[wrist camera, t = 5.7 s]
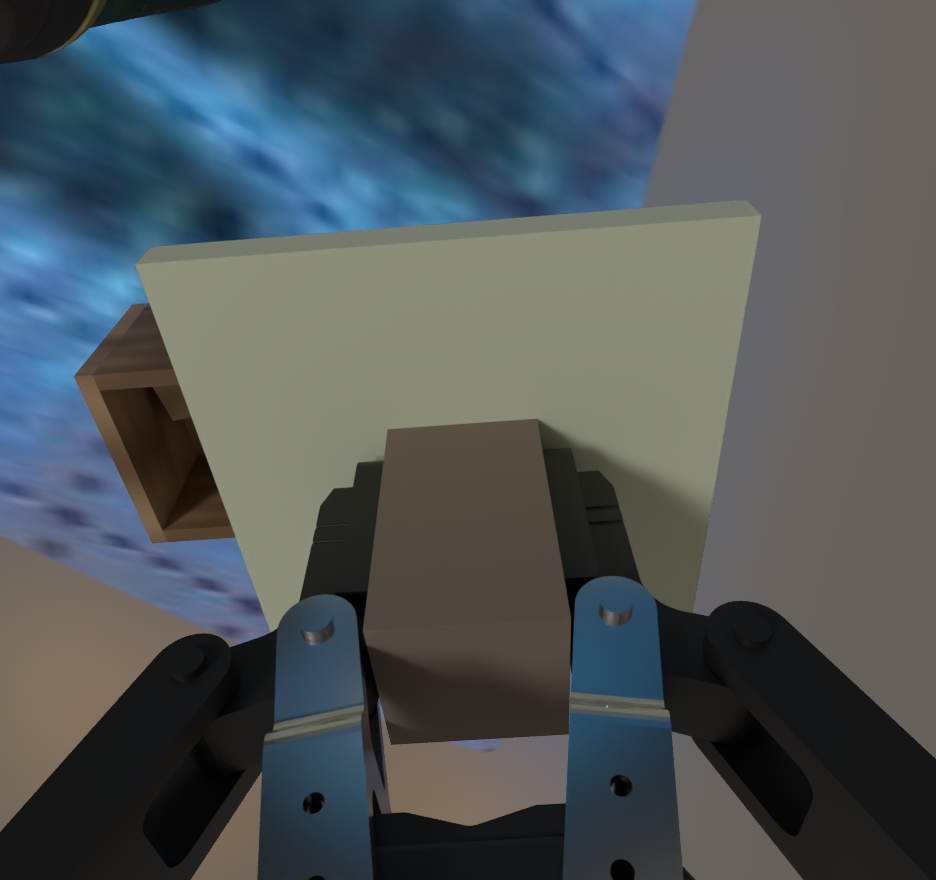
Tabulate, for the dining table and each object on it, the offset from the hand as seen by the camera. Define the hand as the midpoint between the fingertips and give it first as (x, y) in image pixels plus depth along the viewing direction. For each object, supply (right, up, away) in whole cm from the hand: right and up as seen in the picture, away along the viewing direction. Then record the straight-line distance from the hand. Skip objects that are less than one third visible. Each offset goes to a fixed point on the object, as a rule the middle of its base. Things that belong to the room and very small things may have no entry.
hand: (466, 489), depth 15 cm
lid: (0, +1, +1) cm, 1 cm away
